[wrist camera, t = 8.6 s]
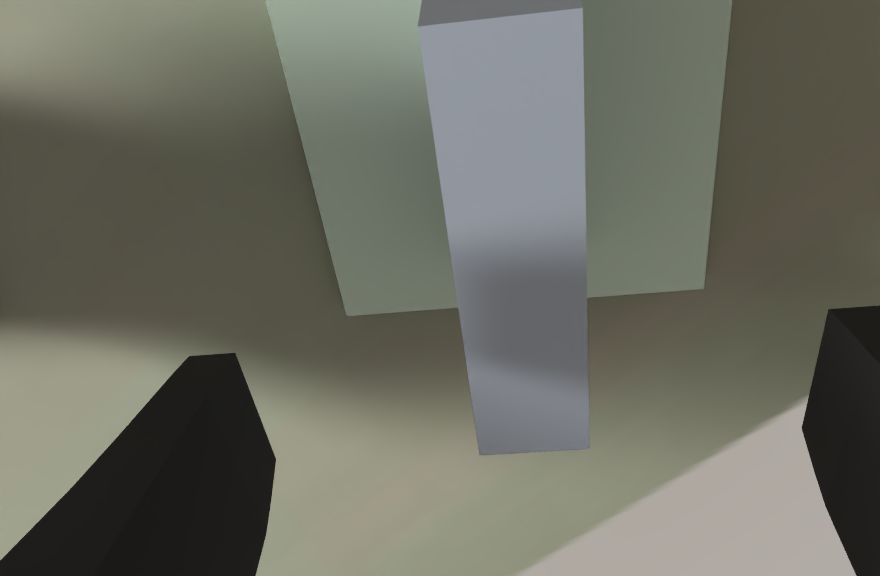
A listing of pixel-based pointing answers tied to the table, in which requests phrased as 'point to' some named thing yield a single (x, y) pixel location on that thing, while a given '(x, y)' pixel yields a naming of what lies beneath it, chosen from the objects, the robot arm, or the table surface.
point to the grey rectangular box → (515, 210)
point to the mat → (415, 163)
